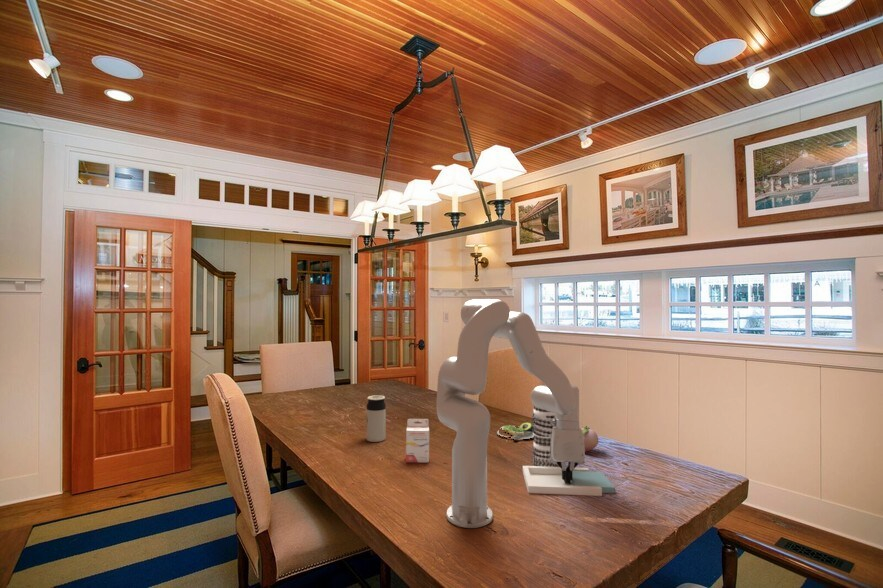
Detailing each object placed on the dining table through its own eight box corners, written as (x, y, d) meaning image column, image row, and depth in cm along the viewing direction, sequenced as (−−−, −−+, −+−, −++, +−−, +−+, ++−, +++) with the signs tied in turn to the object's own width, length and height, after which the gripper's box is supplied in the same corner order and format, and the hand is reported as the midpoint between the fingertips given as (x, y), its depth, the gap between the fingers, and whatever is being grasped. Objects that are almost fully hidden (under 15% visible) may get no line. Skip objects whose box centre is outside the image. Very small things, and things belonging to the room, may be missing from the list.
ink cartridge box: (405, 462, 154) (405, 422, 155) (406, 457, 159) (406, 418, 160) (429, 462, 155) (429, 422, 155) (429, 457, 160) (429, 418, 160)
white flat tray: (602, 499, 126) (601, 488, 126) (528, 496, 128) (528, 486, 128) (587, 476, 142) (587, 467, 142) (522, 474, 144) (522, 465, 144)
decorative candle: (558, 464, 153) (558, 394, 154) (558, 474, 144) (558, 400, 145) (532, 461, 156) (532, 393, 156) (531, 471, 147) (530, 398, 147)
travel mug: (387, 436, 184) (387, 395, 185) (383, 442, 176) (383, 399, 177) (369, 436, 185) (369, 394, 186) (364, 442, 177) (364, 398, 178)
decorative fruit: (598, 457, 161) (598, 430, 161) (576, 454, 163) (575, 428, 164) (598, 448, 170) (597, 423, 170) (576, 446, 172) (576, 421, 172)
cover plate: (614, 492, 128) (614, 487, 128) (578, 492, 128) (578, 486, 128) (601, 476, 140) (601, 471, 140) (567, 476, 140) (567, 471, 140)
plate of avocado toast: (532, 445, 174) (532, 434, 174) (491, 440, 182) (491, 429, 182) (542, 432, 192) (542, 422, 192) (503, 428, 199) (503, 418, 199)
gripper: (545, 426, 132) (545, 486, 132) (594, 427, 131) (594, 487, 131) (541, 420, 140) (541, 476, 139) (587, 421, 138) (588, 477, 138)
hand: (567, 481), depth 135 cm, fingers closed
